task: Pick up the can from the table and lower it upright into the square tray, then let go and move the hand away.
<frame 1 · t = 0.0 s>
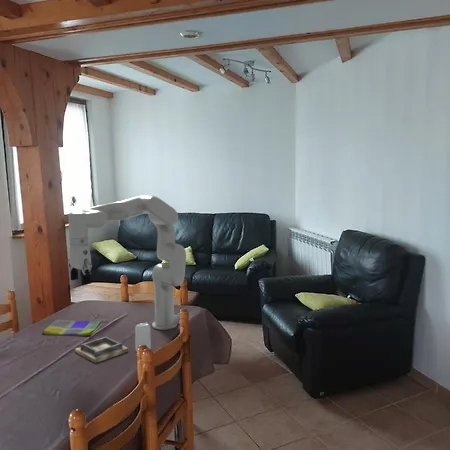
hand: (80, 281, 188), 31 cm above the table, tool pointing down, fingers open, 9 cm apart
square tray: (101, 351, 193), on the table
dish towel: (72, 330, 220), on the table
can: (143, 351, 195), on the table
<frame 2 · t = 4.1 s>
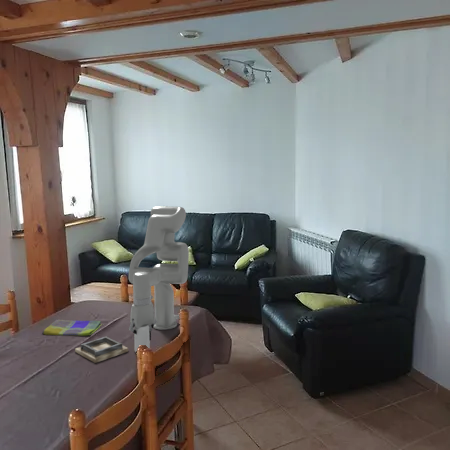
hand: (143, 340, 195), 4 cm above the table, tool pointing down, fingers closed on can, 4 cm apart
can: (142, 351, 194), on the table, touching gripper
everything else where it was.
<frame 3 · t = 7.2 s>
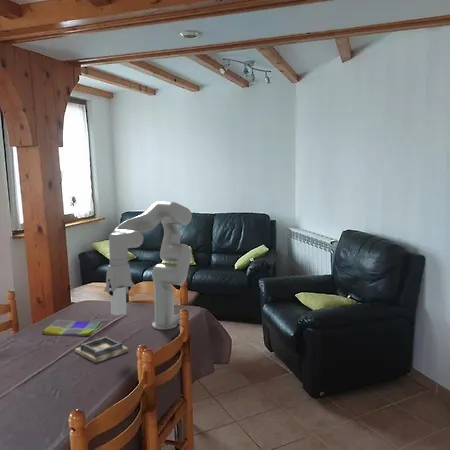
hand: (119, 303, 191), 21 cm above the table, tool pointing down, fingers closed on can, 4 cm apart
can: (118, 313, 191), point 17 cm above the table, touching gripper
everything else where it was.
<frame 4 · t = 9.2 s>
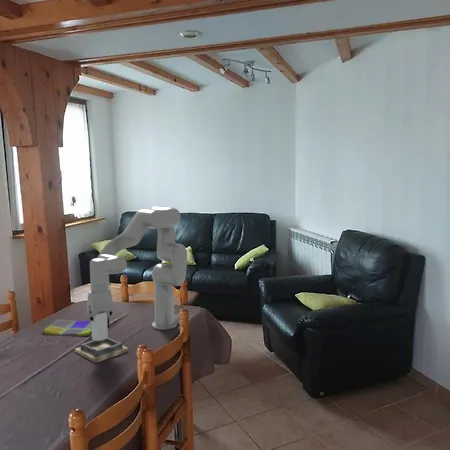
hand: (101, 328, 192), 10 cm above the table, tool pointing down, fingers closed on can, 4 cm apart
can: (100, 338, 192), point 6 cm above the table, touching gripper
everything else where it was.
when the fingers open (8 cm above the table, at t = 10.5 s): can drops 2 cm, resting on square tray.
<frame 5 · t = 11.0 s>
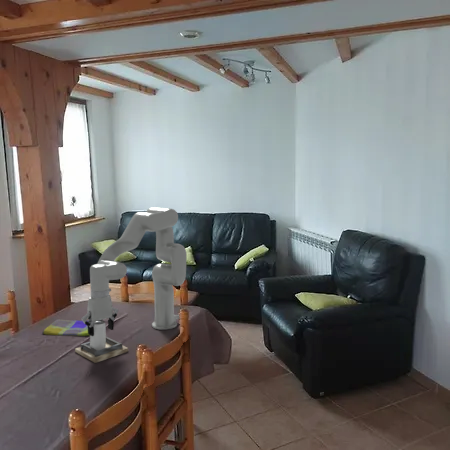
hand: (101, 332, 192), 9 cm above the table, tool pointing down, fingers open, 9 cm apart
can: (97, 349, 192), point 1 cm above the table, touching square tray, gripper
everything else where it was.
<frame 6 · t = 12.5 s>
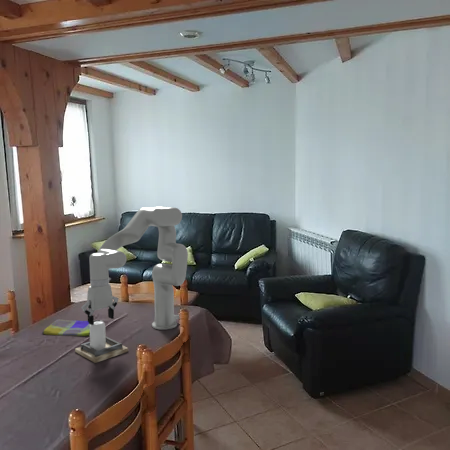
hand: (101, 321, 192), 14 cm above the table, tool pointing down, fingers open, 9 cm apart
can: (97, 349, 192), point 1 cm above the table, touching square tray
everything else where it was.
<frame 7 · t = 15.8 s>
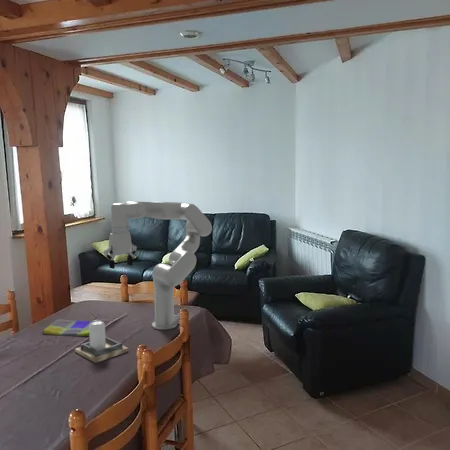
hand: (121, 266, 208), 33 cm above the table, tool pointing down, fingers open, 9 cm apart
nothing on the table moved.
at the end: can 1.7 cm off-centre on the square tray, point 1.3 cm above the square tray's base; can tilted 0°; the gripper is holding nothing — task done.
